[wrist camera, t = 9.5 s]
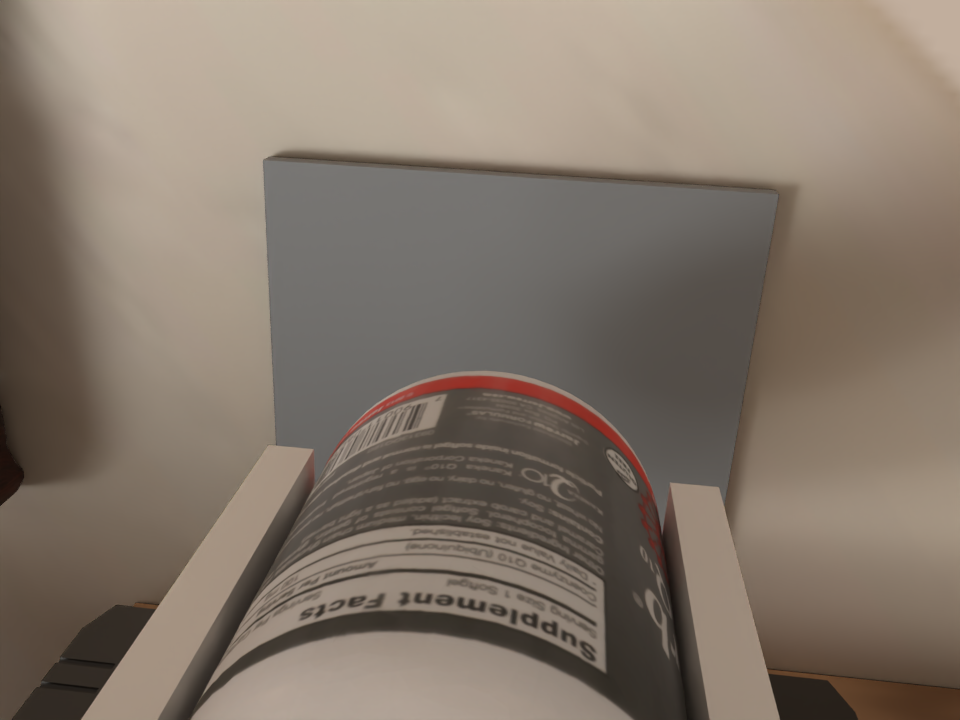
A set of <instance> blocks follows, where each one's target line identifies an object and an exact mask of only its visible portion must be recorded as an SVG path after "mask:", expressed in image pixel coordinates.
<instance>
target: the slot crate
mask: <svg viewBox="0 0 960 720" xmlns="http://www.w3.org/2000/svg"><path fill="white" fill-rule="evenodd" d="M158 606H159V605H152V604H142V603H135V604H134V605H133V607H141V608H150V609H157V607H158ZM767 672H768V674H776V675H785V676H794V677H803V678H812V679H821V680H828V681H829V682H830V684H831V685H832V686H833V687H834V688H835V689H836V690H837V692H838V693H839V694H840V695H841V696H842V697H843V698H844V700H845V701H846V702H847V703H848V704H849V705H850V707H851V708H852V709H853V710H854V711H855V712H856V715H857V718H858V720H960V689H950V688H941V687H931V686H922V685H912V684H903V683H893V682H884V681H874V680H865V679H855V678H846V677H836V676H827V675H817V674H808V673H798V672H789V671H779V670H770V669H767Z"/></svg>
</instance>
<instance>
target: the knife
mask: <svg viewBox="0 0 960 720" xmlns="http://www.w3.org/2000/svg"><path fill="white" fill-rule="evenodd" d="M6 439H7V437H6V432H5V427H4V422H3V416H2V411H1V406H0V506H1V505H2V504H3V503H4V502H5V501H7V500H8V499H9V498H10V497H11V496H12V495H13V494H14V493H15V492H16V491H17V490H18V488H19V486H20V484H21V482H22V480H23V478H24V472H23V470H22V468H21V467H20V466H19V465H18V464H17V463H16V462H15V461H14V459H13V457H12V455H11V453H10V451H9V449H8V447H7V444H6Z"/></svg>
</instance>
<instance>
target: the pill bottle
mask: <svg viewBox="0 0 960 720" xmlns="http://www.w3.org/2000/svg"><path fill="white" fill-rule="evenodd" d="M188 720H688V718H687V711H686V703H685V696H684V688H683V682H682V675H681V668H680V662H679V653H678V645H677V638H676V632H675V626H674V617H673V608H672V599H671V591H670V585H669V579H668V572H667V565H666V558H665V551H664V545H663V538H662V531H661V526H660V519H659V514H658V509H657V505H656V501H655V497H654V494H653V490H652V487H651V484H650V482H649V480H648V477H647V475H646V472H645V470H644V468H643V466H642V464H641V462H640V461H639V459H638V457H637V456H636V454H635V452H634V451H633V449H632V448H631V446H630V445H629V444H628V442H627V441H626V440H625V438H624V437H623V436H622V435H621V434H620V433H619V431H618V430H617V429H616V428H615V427H614V426H613V425H612V424H611V423H610V422H609V421H608V420H607V419H606V418H605V417H604V416H602V415H601V414H600V413H599V412H597V411H596V410H595V409H594V408H592V407H591V406H590V405H588V404H586V403H585V402H583V401H582V400H580V399H578V398H577V397H575V396H573V395H572V394H570V393H568V392H566V391H564V390H562V389H559V388H557V387H555V386H553V385H550V384H548V383H545V382H542V381H539V380H536V379H533V378H529V377H526V376H522V375H517V374H512V373H505V372H494V371H464V372H455V373H449V374H443V375H438V376H435V377H431V378H427V379H424V380H421V381H418V382H415V383H413V384H410V385H408V386H406V387H404V388H402V389H399V390H397V391H396V392H394V393H392V394H391V395H389V396H387V397H386V398H384V399H383V400H381V401H379V402H378V403H376V404H375V405H374V406H373V407H371V408H370V409H369V410H368V411H367V412H365V413H364V414H363V415H362V416H361V417H360V418H359V419H358V420H357V421H356V422H355V423H354V425H353V426H352V427H351V428H350V429H349V430H348V432H347V433H346V434H345V436H344V437H343V438H342V439H341V441H340V442H339V444H338V445H337V446H336V448H335V450H334V451H333V453H332V454H331V456H330V458H329V459H328V461H327V463H326V466H325V468H324V470H323V472H322V473H321V475H320V477H319V479H318V480H317V482H316V484H315V486H314V488H313V490H312V491H311V493H310V495H309V497H308V499H307V501H306V503H305V504H304V506H303V508H302V510H301V512H300V514H299V515H298V517H297V519H296V521H295V523H294V525H293V527H292V529H291V531H290V533H289V534H288V536H287V538H286V540H285V542H284V544H283V546H282V548H281V549H280V551H279V553H278V555H277V557H276V559H275V561H274V562H273V564H272V566H271V568H270V570H269V572H268V573H267V575H266V577H265V579H264V581H263V583H262V584H261V586H260V588H259V590H258V592H257V594H256V595H255V597H254V599H253V601H252V603H251V605H250V607H249V609H248V611H247V613H246V615H245V617H244V619H243V620H242V622H241V623H240V626H239V628H238V630H237V632H236V633H235V635H234V637H233V639H232V641H231V643H230V645H229V646H228V648H227V650H226V652H225V654H224V656H223V657H222V659H221V661H220V663H219V665H218V666H217V668H216V670H215V672H214V673H213V675H212V677H211V679H210V681H209V683H208V685H207V687H206V689H205V690H204V692H203V694H202V696H201V698H200V700H199V701H198V703H197V705H196V707H195V708H194V710H193V712H192V714H191V716H190V718H189V719H188Z"/></svg>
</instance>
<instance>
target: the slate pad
mask: <svg viewBox="0 0 960 720" xmlns="http://www.w3.org/2000/svg"><path fill="white" fill-rule="evenodd" d="M263 170H264V191H265V213H266V235H267V256H268V278H269V300H270V321H271V343H272V365H273V386H274V408H275V429H276V446H285V447H296V448H307V449H314V470H315V484H316V482H317V480H318V479H319V477H320V475H321V473H322V472H323V470H324V468H325V466H326V463H327V461H328V459H329V458H330V456H331V454H332V453H333V451H334V450H335V448H336V446H337V445H338V444H339V442H340V441H341V439H342V438H343V437H344V436H345V434H346V433H347V432H348V430H349V429H350V428H351V427H352V426H353V425H354V423H355V422H356V421H357V420H358V419H359V418H360V417H361V416H362V415H363V414H364V413H365V412H367V411H368V410H369V409H370V408H371V407H373V406H374V405H375V404H376V403H378V402H379V401H381V400H383V399H384V398H386V397H387V396H389V395H391V394H392V393H394V392H396V391H397V390H399V389H402V388H404V387H406V386H408V385H410V384H413V383H415V382H418V381H421V380H424V379H427V378H431V377H435V376H438V375H443V374H449V373H455V372H464V371H494V372H505V373H512V374H517V375H522V376H526V377H529V378H533V379H536V380H539V381H542V382H545V383H548V384H550V385H553V386H555V387H557V388H559V389H562V390H564V391H566V392H568V393H570V394H572V395H573V396H575V397H577V398H578V399H580V400H582V401H583V402H585V403H586V404H588V405H590V406H591V407H592V408H594V409H595V410H596V411H597V412H599V413H600V414H601V415H602V416H604V417H605V418H606V419H607V420H608V421H609V422H610V423H611V424H612V425H613V426H614V427H615V428H616V429H617V430H618V431H619V433H620V434H621V435H622V436H623V437H624V438H625V440H626V441H627V442H628V444H629V445H630V446H631V448H632V449H633V451H634V452H635V454H636V456H637V457H638V459H639V461H640V462H641V464H642V466H643V468H644V470H645V472H646V475H647V477H648V480H649V482H650V484H651V487H652V490H653V494H654V497H655V501H656V505H657V509H658V514H659V519H660V526H661V531H662V533H663V526H664V520H665V513H666V506H667V499H668V492H669V486H670V483H680V484H691V485H702V486H712V487H719V489H720V493H721V497H722V501H723V505H725V499H726V494H727V488H728V482H729V477H730V471H731V465H732V460H733V454H734V448H735V442H736V437H737V431H738V425H739V420H740V414H741V408H742V403H743V397H744V391H745V386H746V380H747V374H748V368H749V363H750V357H751V351H752V346H753V340H754V334H755V329H756V323H757V317H758V312H759V306H760V300H761V294H762V289H763V283H764V277H765V272H766V266H767V260H768V255H769V249H770V243H771V237H772V232H773V226H774V220H775V215H776V209H777V203H778V198H779V194H778V193H777V192H776V191H775V190H768V189H752V188H737V187H722V186H707V185H692V184H677V183H662V182H647V181H632V180H616V179H601V178H586V177H571V176H556V175H541V174H526V173H511V172H496V171H480V170H465V169H450V168H435V167H420V166H405V165H390V164H375V163H360V162H344V161H329V160H314V159H299V158H284V157H268V158H266V159H264V160H263Z"/></svg>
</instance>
